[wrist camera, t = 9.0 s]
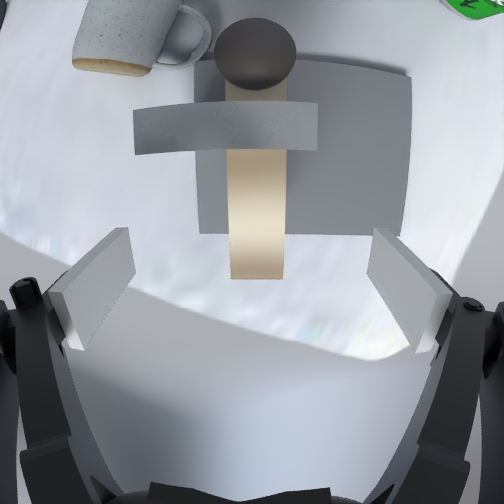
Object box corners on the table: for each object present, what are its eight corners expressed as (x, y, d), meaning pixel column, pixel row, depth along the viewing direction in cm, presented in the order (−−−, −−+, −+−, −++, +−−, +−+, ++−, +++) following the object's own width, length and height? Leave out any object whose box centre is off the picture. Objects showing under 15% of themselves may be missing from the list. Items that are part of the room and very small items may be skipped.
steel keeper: (196, 118, 22) (133, 110, 10) (287, 117, 22) (317, 103, 10) (196, 141, 23) (135, 155, 11) (287, 140, 23) (316, 151, 11)
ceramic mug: (94, 75, 20) (46, 66, 13) (120, 1, 17) (82, -27, 10) (198, 89, 22) (174, 74, 15) (226, 9, 18) (215, -30, 11)
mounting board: (197, 63, 20) (187, 54, 17) (406, 78, 20) (425, 74, 17) (201, 229, 26) (193, 244, 23) (395, 232, 26) (411, 246, 23)
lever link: (230, 57, 17) (214, 20, 10) (282, 57, 17) (295, 19, 10) (234, 241, 22) (222, 295, 15) (281, 241, 22) (291, 295, 15)
